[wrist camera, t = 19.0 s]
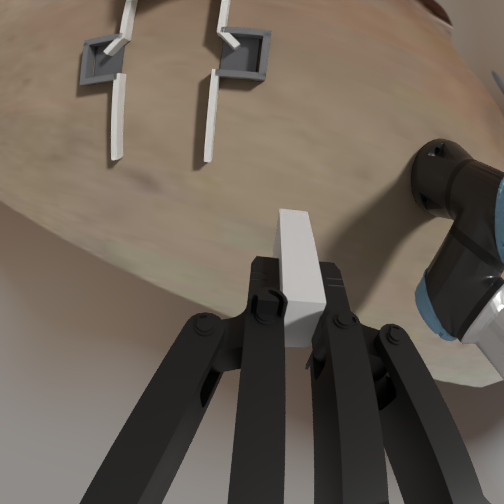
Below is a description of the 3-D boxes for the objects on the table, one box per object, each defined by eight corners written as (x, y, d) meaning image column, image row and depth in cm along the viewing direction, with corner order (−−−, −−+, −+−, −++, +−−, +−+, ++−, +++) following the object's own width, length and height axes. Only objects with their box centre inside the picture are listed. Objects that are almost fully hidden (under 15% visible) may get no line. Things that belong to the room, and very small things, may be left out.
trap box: (282, -61, 20) (284, -67, 18) (254, 162, 41) (254, 165, 39) (116, -51, 18) (111, -56, 16) (85, 158, 39) (78, 161, 37)
